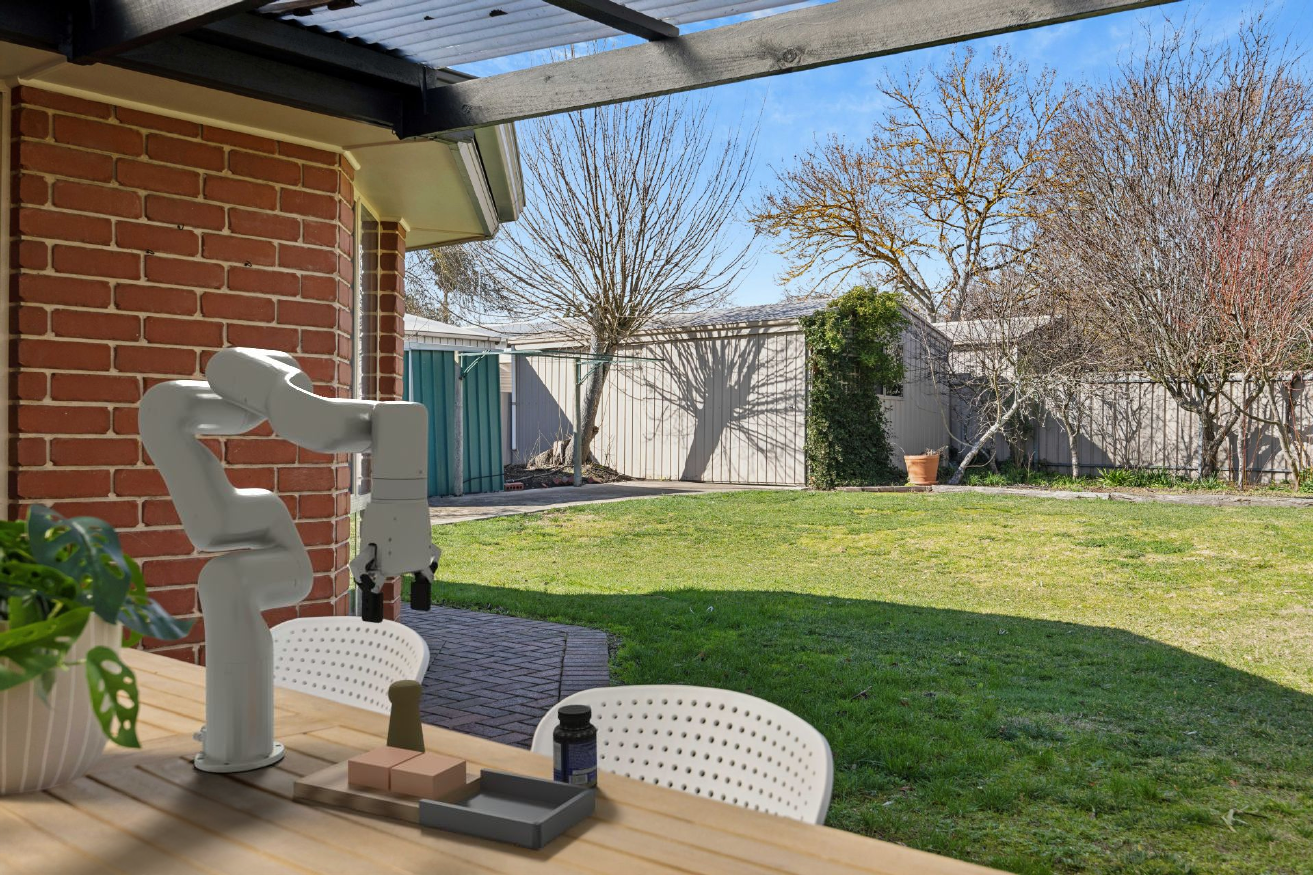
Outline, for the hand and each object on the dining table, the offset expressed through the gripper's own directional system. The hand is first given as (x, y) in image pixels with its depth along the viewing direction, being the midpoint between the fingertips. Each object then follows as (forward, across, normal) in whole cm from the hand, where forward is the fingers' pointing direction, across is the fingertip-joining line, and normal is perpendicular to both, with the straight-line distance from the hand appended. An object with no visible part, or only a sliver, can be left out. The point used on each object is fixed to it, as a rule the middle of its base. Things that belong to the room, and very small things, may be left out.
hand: (397, 615), depth 134 cm
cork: (+25, -15, -10) cm, 31 cm away
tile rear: (+22, 0, -1) cm, 22 cm away
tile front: (+22, 0, +6) cm, 23 cm away
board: (+24, 0, -1) cm, 24 cm away
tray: (+24, 0, +19) cm, 31 cm away
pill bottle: (+24, -12, +21) cm, 35 cm away
